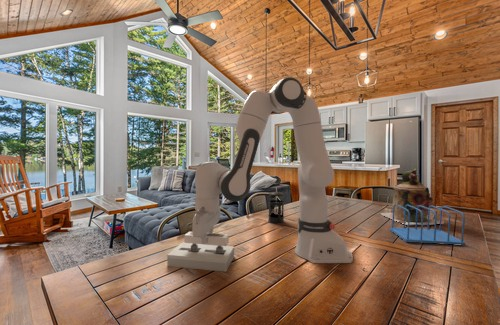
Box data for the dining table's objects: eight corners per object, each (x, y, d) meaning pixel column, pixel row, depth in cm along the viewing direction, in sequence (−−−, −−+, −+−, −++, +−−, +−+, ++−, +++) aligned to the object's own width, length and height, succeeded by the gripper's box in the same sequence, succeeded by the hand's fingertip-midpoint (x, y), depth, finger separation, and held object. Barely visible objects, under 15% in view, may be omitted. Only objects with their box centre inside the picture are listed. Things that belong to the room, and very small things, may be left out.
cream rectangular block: (228, 249, 92) (228, 233, 92) (225, 253, 88) (226, 237, 88) (189, 246, 95) (189, 231, 95) (184, 250, 91) (184, 234, 91)
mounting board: (234, 256, 96) (234, 246, 96) (226, 271, 85) (226, 259, 84) (182, 252, 100) (182, 242, 100) (167, 266, 88) (167, 254, 88)
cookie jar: (378, 215, 161) (380, 167, 159) (412, 214, 164) (414, 167, 162) (406, 227, 137) (409, 170, 135) (446, 225, 139) (449, 170, 138)
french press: (287, 223, 142) (288, 183, 141) (272, 224, 139) (273, 184, 138) (278, 217, 153) (278, 181, 152) (264, 219, 150) (265, 181, 149)
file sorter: (406, 243, 112) (407, 210, 112) (389, 231, 130) (390, 202, 129) (465, 246, 109) (467, 212, 108) (440, 233, 126) (442, 204, 126)
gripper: (205, 211, 80) (205, 253, 81) (222, 199, 100) (222, 232, 101) (187, 210, 81) (187, 251, 82) (208, 198, 101) (208, 231, 102)
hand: (207, 240), depth 92 cm, fingers closed on cream rectangular block, 4 cm apart
